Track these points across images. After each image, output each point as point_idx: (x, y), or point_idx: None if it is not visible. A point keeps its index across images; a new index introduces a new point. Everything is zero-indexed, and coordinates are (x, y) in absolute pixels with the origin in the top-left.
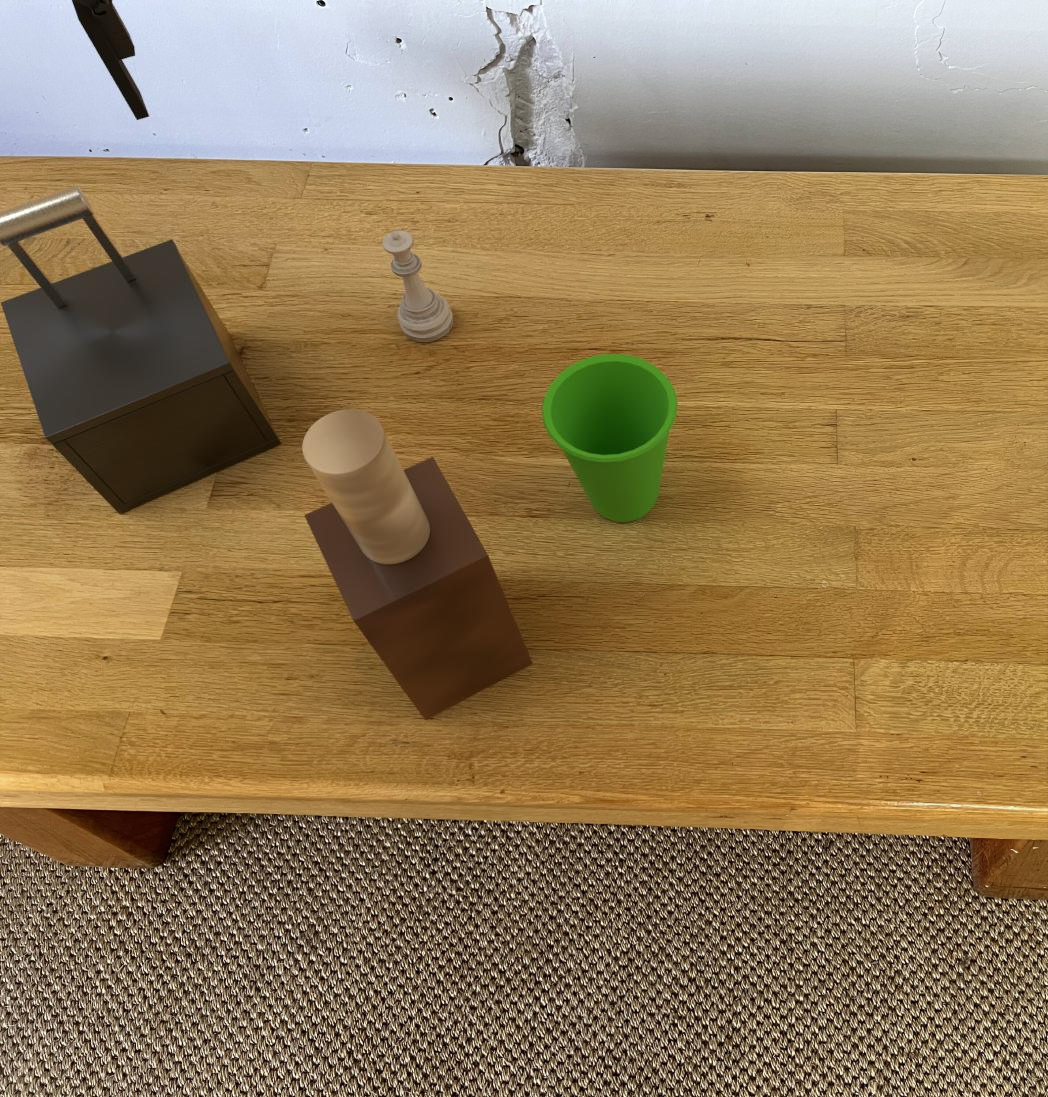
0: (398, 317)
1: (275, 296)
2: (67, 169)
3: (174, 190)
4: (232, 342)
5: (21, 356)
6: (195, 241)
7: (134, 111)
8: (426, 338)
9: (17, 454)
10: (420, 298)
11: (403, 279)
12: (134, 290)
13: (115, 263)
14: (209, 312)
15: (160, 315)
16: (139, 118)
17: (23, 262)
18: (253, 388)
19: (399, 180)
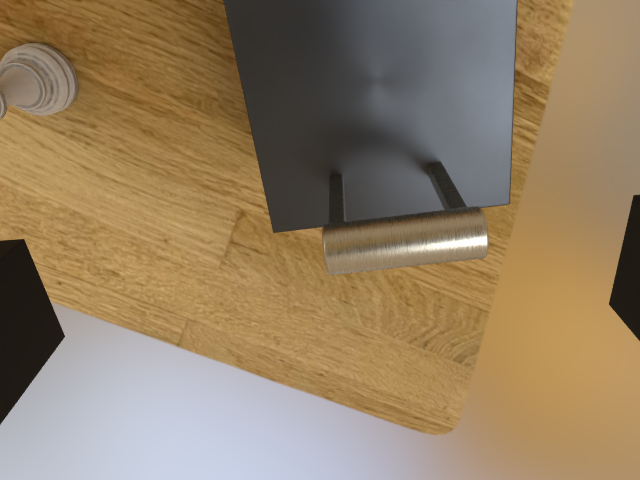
0: (65, 82)
1: (227, 194)
2: (406, 427)
3: (313, 371)
4: None
5: (510, 84)
6: (303, 302)
7: (1, 252)
8: (40, 44)
9: (550, 67)
10: (6, 74)
11: (5, 93)
12: (334, 154)
13: (341, 189)
14: None
15: (304, 87)
16: (15, 242)
17: (458, 198)
18: None
19: (80, 306)
